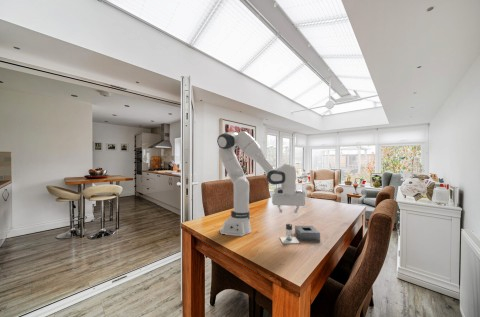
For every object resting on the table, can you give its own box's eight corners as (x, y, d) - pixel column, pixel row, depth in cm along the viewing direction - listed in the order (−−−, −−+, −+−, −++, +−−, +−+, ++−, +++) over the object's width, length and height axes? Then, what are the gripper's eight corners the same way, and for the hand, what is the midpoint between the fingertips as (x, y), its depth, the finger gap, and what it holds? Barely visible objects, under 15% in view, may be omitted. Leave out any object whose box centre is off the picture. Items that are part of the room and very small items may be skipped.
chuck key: (285, 238, 109) (284, 224, 109) (289, 237, 110) (289, 223, 111) (288, 241, 106) (288, 226, 106) (293, 240, 107) (293, 225, 107)
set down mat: (282, 243, 103) (282, 242, 104) (279, 237, 111) (279, 237, 112) (299, 243, 103) (299, 242, 103) (295, 238, 111) (295, 237, 111)
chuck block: (300, 240, 107) (300, 232, 107) (295, 233, 119) (294, 225, 119) (320, 240, 107) (320, 232, 107) (312, 233, 119) (312, 225, 119)
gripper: (303, 190, 111) (303, 211, 111) (271, 189, 112) (271, 210, 111) (307, 191, 105) (306, 214, 105) (273, 190, 106) (272, 213, 105)
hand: (288, 212), depth 108 cm, fingers open, 8 cm apart
